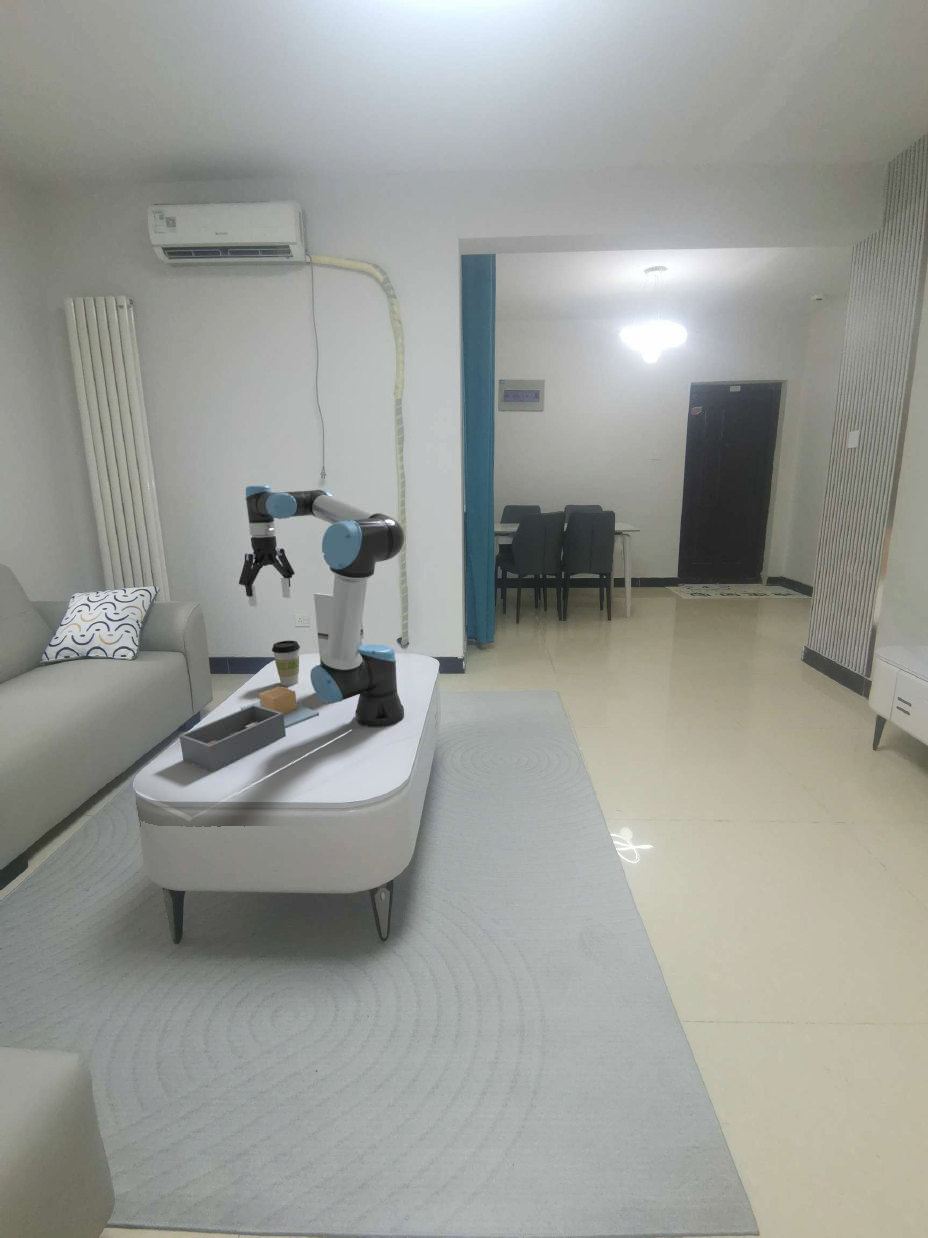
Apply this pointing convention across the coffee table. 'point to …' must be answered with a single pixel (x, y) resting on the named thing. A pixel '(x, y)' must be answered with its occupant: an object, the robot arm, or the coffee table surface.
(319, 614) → the tall white vase
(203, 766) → the tub
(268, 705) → the lid
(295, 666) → the coffee cup
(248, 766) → the coffee table surface
